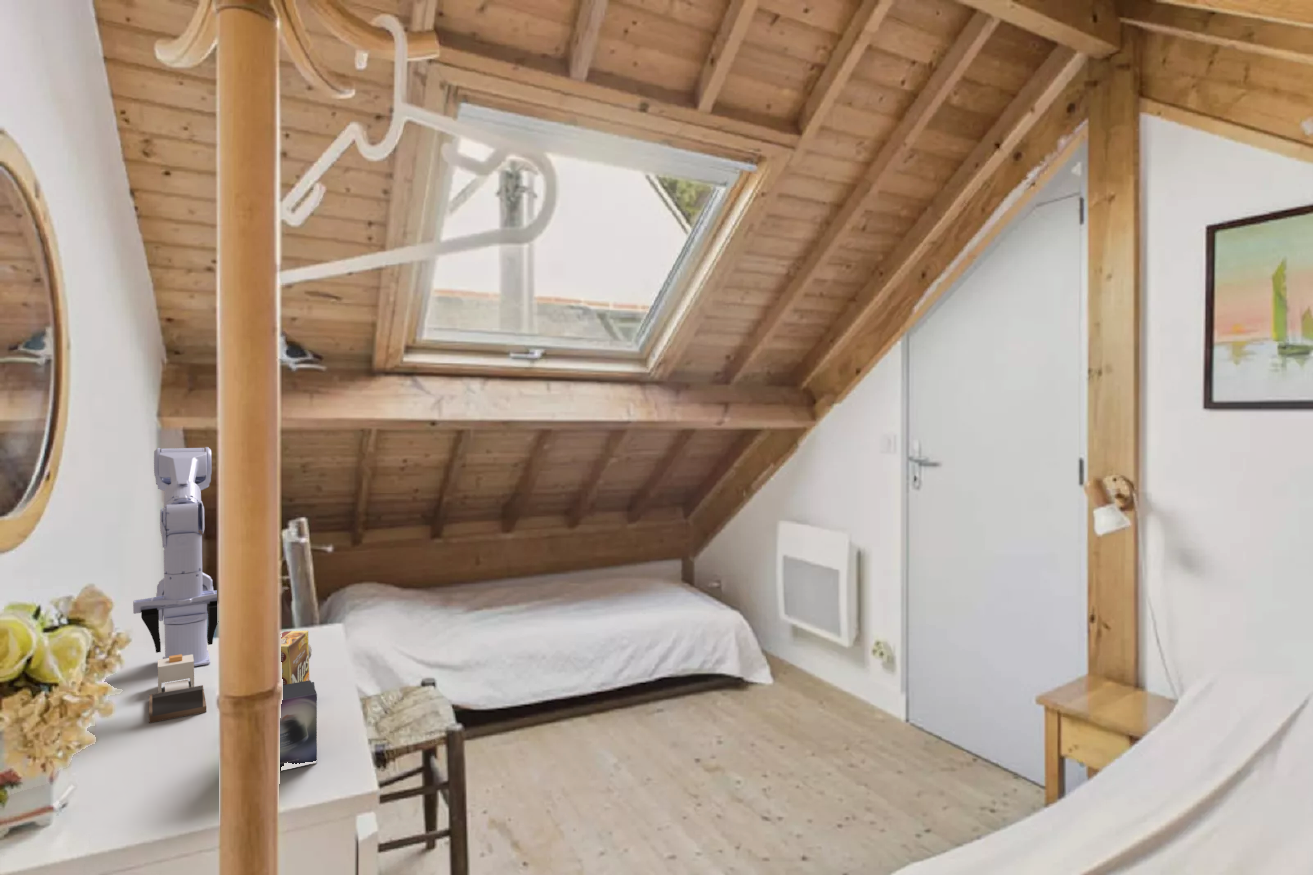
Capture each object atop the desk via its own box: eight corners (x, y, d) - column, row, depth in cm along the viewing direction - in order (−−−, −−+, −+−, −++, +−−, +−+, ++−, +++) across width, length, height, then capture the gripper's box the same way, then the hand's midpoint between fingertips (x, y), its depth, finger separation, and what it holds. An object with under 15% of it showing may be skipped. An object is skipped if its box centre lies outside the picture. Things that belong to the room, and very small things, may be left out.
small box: (233, 785, 98) (232, 708, 98) (230, 766, 103) (229, 693, 103) (318, 764, 104) (317, 692, 103) (311, 747, 109) (310, 678, 109)
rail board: (149, 700, 128) (149, 677, 128) (202, 690, 132) (202, 668, 132) (148, 723, 118) (148, 698, 118) (206, 711, 123) (206, 688, 122)
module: (158, 686, 135) (157, 655, 135) (193, 680, 138) (192, 650, 138) (158, 694, 131) (157, 662, 130) (194, 688, 134) (193, 657, 134)
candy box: (291, 746, 109) (290, 646, 109) (261, 748, 109) (260, 647, 108) (311, 722, 118) (310, 629, 118) (284, 724, 117) (282, 630, 117)
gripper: (132, 580, 121) (133, 661, 121) (232, 570, 129) (233, 645, 129) (133, 572, 126) (134, 649, 127) (229, 563, 135) (230, 635, 135)
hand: (184, 647), depth 128 cm, fingers open, 7 cm apart
